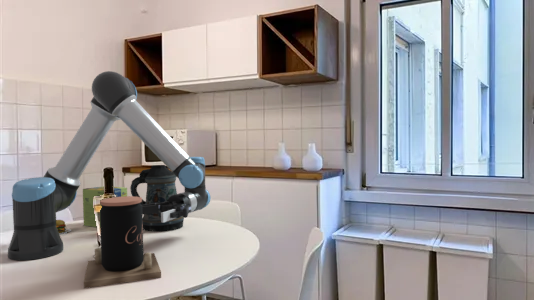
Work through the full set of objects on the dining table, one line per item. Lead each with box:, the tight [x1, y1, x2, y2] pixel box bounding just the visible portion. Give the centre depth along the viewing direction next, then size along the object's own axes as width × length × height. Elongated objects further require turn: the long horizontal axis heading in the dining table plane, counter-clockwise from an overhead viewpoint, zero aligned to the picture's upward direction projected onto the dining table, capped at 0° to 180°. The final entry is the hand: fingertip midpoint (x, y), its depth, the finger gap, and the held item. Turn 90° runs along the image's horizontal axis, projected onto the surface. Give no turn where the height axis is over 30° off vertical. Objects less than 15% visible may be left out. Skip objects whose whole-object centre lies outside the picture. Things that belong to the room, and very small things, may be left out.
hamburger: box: [56, 219, 72, 235], centre depth 154 cm, size 12×12×6 cm
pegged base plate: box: [83, 247, 162, 289], centre depth 107 cm, size 18×18×6 cm
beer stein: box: [129, 164, 185, 233], centre depth 158 cm, size 16×19×25 cm
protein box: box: [82, 186, 128, 228], centre depth 166 cm, size 10×15×16 cm
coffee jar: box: [99, 195, 145, 272], centre depth 106 cm, size 11×11×18 cm
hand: (141, 216), depth 115 cm, fingers open, 13 cm apart
